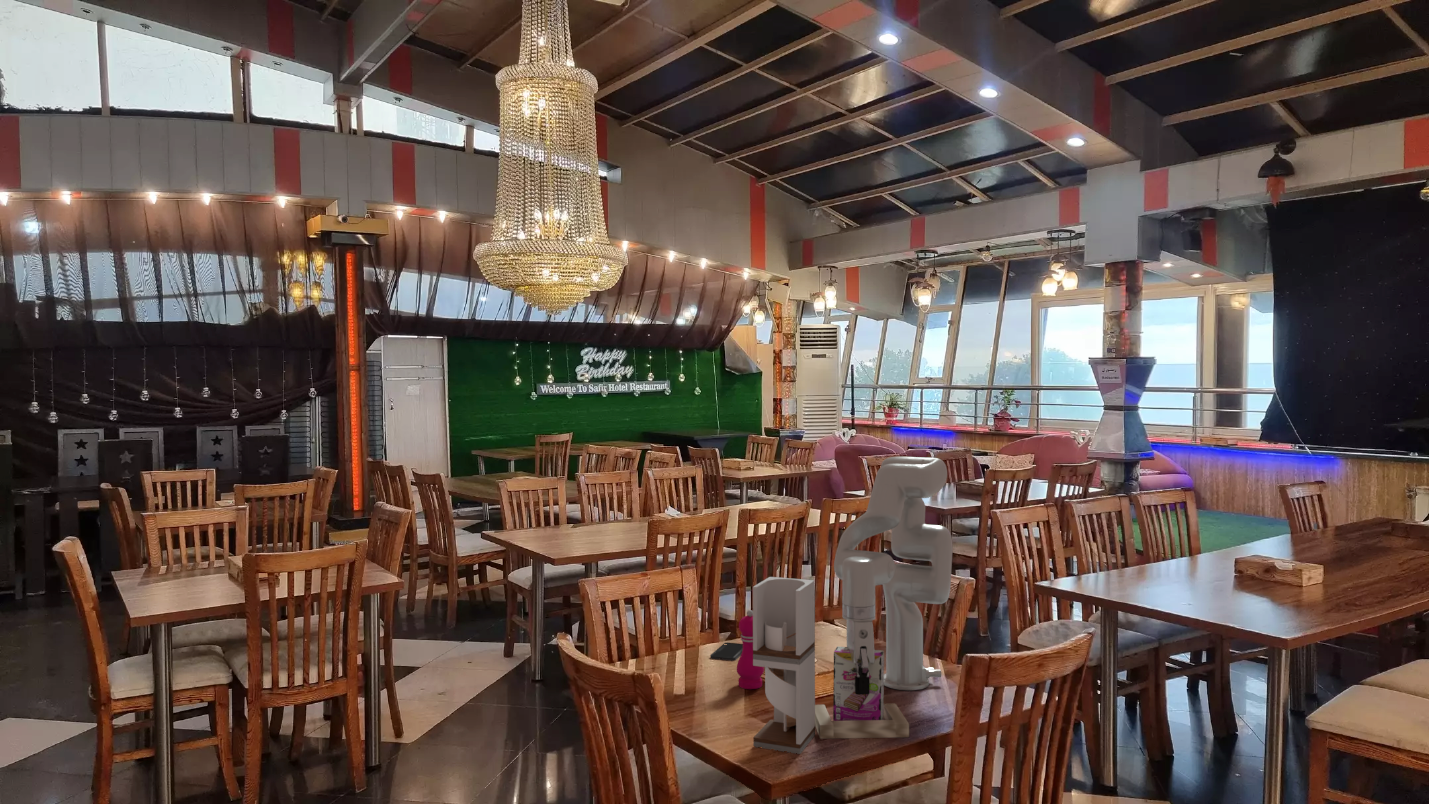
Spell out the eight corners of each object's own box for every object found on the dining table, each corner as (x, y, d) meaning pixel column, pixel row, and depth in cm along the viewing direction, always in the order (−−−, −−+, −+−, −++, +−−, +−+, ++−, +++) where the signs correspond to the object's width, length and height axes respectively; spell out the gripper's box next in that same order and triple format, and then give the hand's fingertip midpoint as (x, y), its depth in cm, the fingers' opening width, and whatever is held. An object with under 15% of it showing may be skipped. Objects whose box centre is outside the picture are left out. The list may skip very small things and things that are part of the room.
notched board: (895, 715, 212) (895, 703, 212) (909, 736, 199) (909, 723, 199) (811, 717, 211) (811, 704, 211) (820, 738, 198) (820, 724, 198)
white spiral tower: (770, 728, 204) (769, 576, 204) (815, 734, 200) (814, 580, 200) (753, 746, 194) (752, 586, 193) (800, 753, 190) (799, 590, 189)
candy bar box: (832, 722, 204) (832, 651, 204) (836, 714, 209) (836, 645, 209) (881, 727, 201) (881, 655, 201) (884, 719, 206) (884, 649, 206)
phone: (749, 644, 270) (734, 658, 256) (749, 648, 270) (734, 662, 256) (725, 642, 272) (709, 655, 258) (725, 645, 272) (708, 659, 258)
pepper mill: (764, 681, 237) (764, 606, 237) (763, 690, 230) (763, 613, 230) (737, 680, 238) (737, 606, 238) (735, 689, 231) (735, 612, 231)
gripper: (883, 620, 196) (883, 701, 196) (867, 601, 213) (867, 676, 214) (849, 621, 196) (849, 702, 196) (836, 602, 213) (836, 676, 213)
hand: (859, 687), depth 205 cm, fingers closed on candy bar box, 6 cm apart
